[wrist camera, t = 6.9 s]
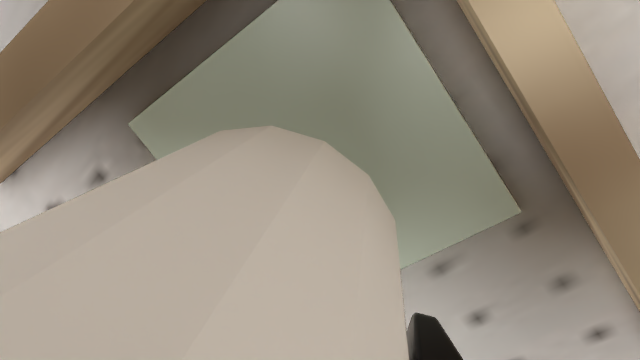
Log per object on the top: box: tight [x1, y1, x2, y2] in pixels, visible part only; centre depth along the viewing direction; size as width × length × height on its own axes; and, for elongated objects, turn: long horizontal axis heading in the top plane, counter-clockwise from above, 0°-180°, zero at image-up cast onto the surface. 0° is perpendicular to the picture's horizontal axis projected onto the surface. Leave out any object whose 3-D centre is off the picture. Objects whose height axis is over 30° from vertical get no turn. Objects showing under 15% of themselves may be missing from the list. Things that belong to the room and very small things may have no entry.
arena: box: [0, 0, 640, 312], centre depth 14 cm, size 18×18×4 cm
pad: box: [128, 0, 522, 270], centre depth 15 cm, size 9×9×1 cm
